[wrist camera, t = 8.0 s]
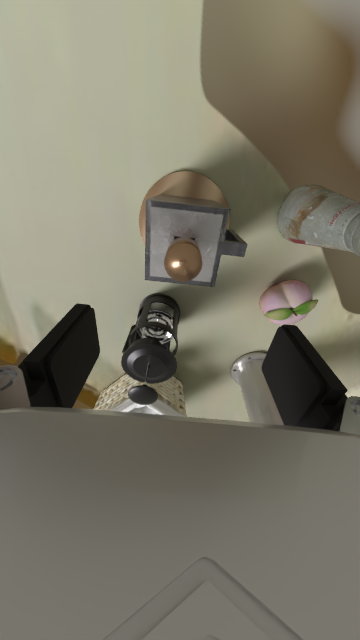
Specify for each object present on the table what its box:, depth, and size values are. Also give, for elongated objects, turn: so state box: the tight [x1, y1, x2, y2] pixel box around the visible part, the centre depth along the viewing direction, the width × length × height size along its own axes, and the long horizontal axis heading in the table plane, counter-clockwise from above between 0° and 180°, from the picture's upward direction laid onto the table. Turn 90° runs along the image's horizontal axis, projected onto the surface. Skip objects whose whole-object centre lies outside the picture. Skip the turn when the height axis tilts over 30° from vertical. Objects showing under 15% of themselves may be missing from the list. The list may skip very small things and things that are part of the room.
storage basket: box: [93, 374, 187, 417], centre depth 56 cm, size 24×16×15 cm
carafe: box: [145, 194, 247, 287], centre depth 31 cm, size 12×9×15 cm
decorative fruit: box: [259, 280, 318, 325], centre depth 40 cm, size 9×8×10 cm
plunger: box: [164, 236, 202, 282], centre depth 28 cm, size 6×6×19 cm
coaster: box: [139, 171, 230, 244], centre depth 37 cm, size 16×16×1 cm
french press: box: [121, 294, 180, 405], centre depth 38 cm, size 12×9×23 cm
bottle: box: [277, 185, 360, 257], centre depth 24 cm, size 9×9×28 cm
